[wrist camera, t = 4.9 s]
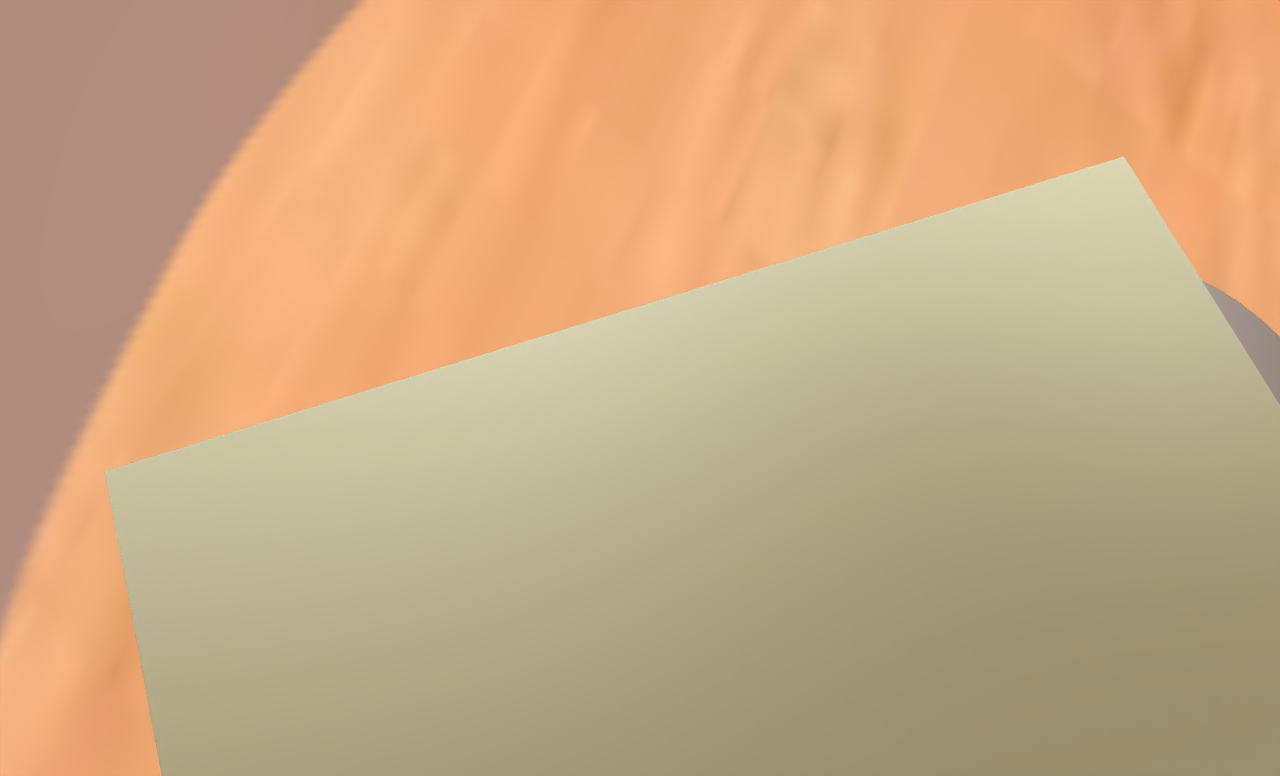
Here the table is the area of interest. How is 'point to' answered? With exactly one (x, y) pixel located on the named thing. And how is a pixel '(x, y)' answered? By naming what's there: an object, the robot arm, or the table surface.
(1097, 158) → the table surface
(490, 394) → the tall khaki square post
